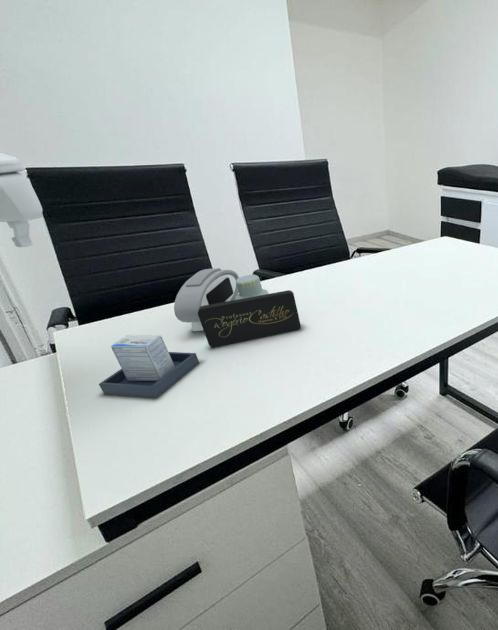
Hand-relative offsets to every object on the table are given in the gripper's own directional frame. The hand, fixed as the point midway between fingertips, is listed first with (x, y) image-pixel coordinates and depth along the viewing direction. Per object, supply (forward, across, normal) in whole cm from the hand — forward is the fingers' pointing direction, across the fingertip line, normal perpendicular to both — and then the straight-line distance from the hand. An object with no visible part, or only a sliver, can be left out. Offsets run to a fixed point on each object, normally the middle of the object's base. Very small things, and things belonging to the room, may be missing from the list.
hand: (4, 246), depth 69 cm
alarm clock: (+29, +12, +30) cm, 43 cm away
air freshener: (+29, +22, +33) cm, 49 cm away
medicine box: (+29, +17, +2) cm, 33 cm away
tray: (+29, +17, +2) cm, 34 cm away
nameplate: (+29, +30, +20) cm, 46 cm away
